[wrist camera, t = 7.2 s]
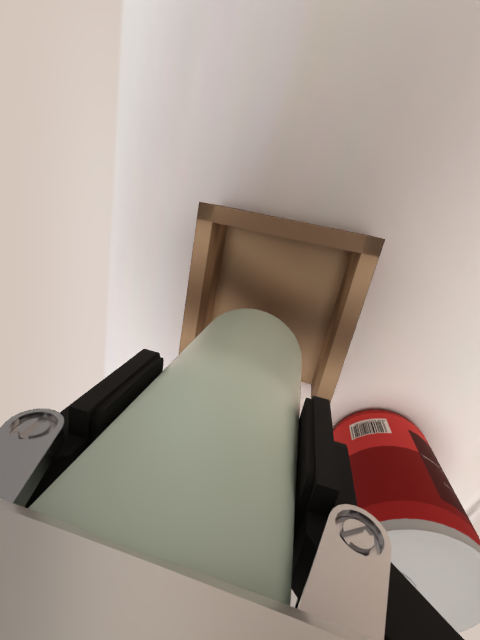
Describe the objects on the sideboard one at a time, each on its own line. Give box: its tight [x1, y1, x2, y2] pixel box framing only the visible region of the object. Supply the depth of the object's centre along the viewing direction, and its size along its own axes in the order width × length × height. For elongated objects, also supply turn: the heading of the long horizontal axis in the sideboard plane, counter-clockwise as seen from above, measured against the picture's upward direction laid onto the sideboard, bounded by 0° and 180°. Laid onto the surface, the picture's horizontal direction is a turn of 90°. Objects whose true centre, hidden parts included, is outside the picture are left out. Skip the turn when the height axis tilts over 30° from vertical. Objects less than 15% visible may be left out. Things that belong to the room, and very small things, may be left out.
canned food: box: [333, 410, 480, 633], centre depth 21 cm, size 8×8×11 cm
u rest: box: [179, 202, 385, 402], centre depth 22 cm, size 12×11×5 cm
